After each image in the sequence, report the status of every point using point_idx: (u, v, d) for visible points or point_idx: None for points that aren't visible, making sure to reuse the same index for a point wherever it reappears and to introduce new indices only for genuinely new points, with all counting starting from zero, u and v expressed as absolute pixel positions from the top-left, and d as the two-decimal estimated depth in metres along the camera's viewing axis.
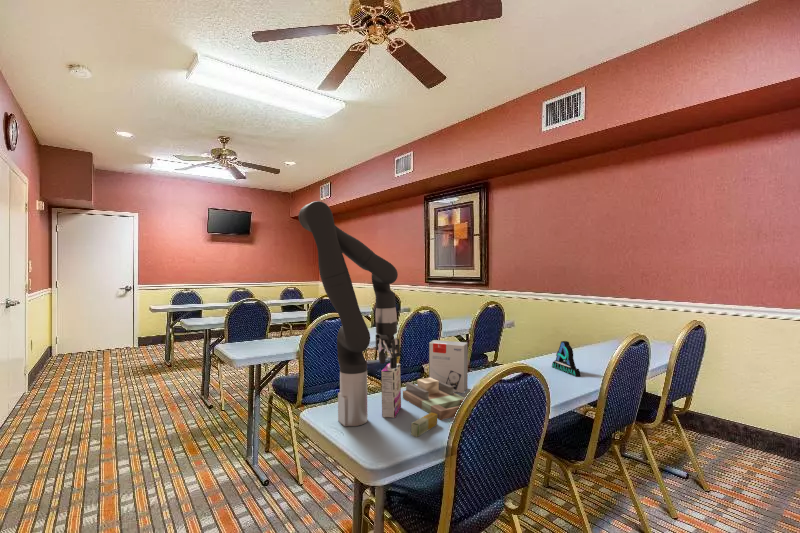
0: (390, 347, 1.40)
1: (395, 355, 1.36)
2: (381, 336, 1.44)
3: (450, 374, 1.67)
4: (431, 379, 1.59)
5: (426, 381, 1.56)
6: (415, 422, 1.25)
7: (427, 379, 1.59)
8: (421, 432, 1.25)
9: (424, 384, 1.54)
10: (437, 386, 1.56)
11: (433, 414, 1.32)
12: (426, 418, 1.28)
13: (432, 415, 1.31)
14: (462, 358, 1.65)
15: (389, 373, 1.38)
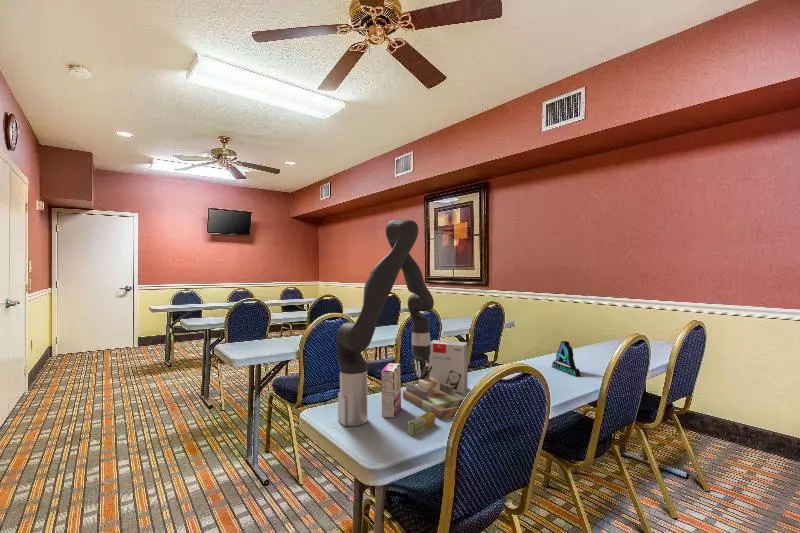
0: None
1: (424, 376, 1.59)
2: (416, 357, 1.63)
3: (450, 374, 1.67)
4: (432, 379, 1.58)
5: (427, 381, 1.56)
6: (412, 421, 1.26)
7: (428, 379, 1.59)
8: (417, 431, 1.25)
9: (425, 384, 1.54)
10: (438, 386, 1.56)
11: (431, 413, 1.32)
12: (423, 417, 1.29)
13: (429, 414, 1.31)
14: (462, 358, 1.65)
15: (389, 373, 1.38)
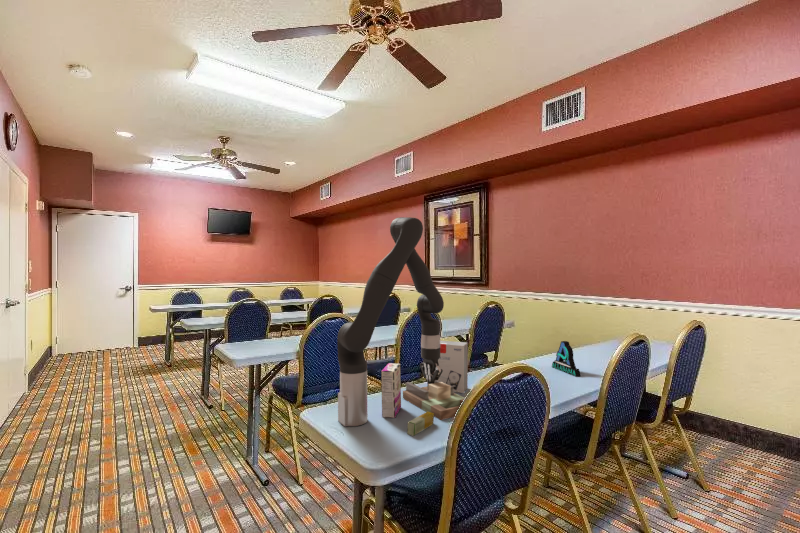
0: None
1: (434, 380, 1.53)
2: (425, 360, 1.57)
3: (450, 374, 1.67)
4: (443, 384, 1.52)
5: (437, 386, 1.50)
6: (411, 421, 1.26)
7: (438, 383, 1.53)
8: (417, 431, 1.26)
9: (435, 389, 1.48)
10: (449, 391, 1.50)
11: (429, 413, 1.33)
12: (422, 417, 1.29)
13: (428, 414, 1.32)
14: (462, 358, 1.65)
15: (389, 373, 1.38)
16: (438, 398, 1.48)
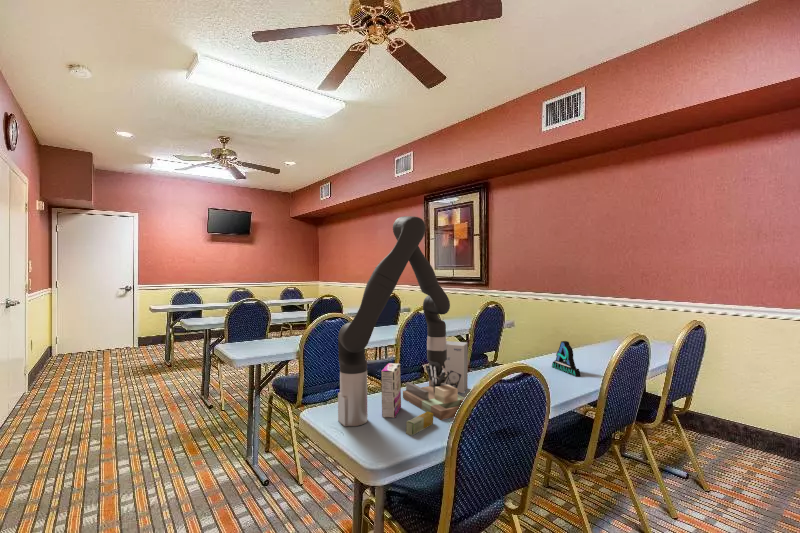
0: None
1: (440, 383, 1.49)
2: (431, 362, 1.54)
3: (450, 374, 1.67)
4: (449, 386, 1.49)
5: (444, 389, 1.46)
6: (410, 421, 1.26)
7: (445, 386, 1.49)
8: (416, 431, 1.26)
9: (442, 392, 1.44)
10: (456, 394, 1.46)
11: (429, 413, 1.33)
12: (421, 417, 1.29)
13: (428, 414, 1.32)
14: (462, 358, 1.65)
15: (389, 373, 1.38)
16: (445, 401, 1.44)
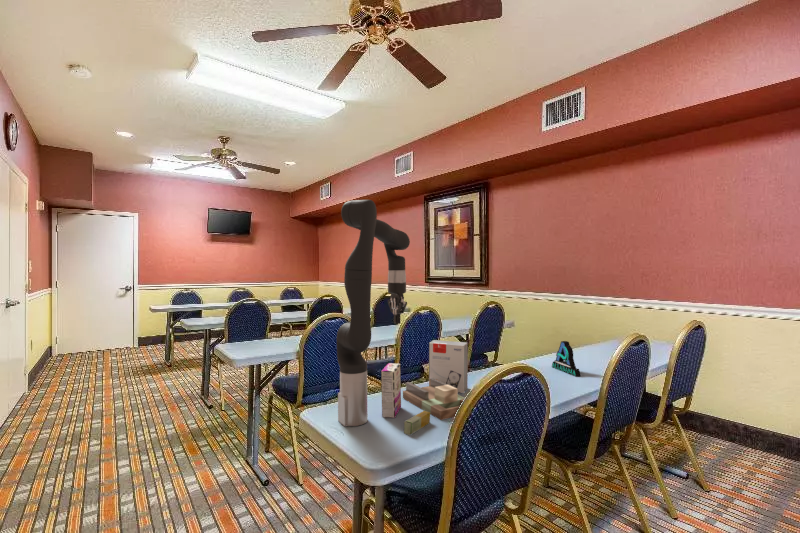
0: None
1: (399, 312, 1.62)
2: (392, 295, 1.66)
3: (450, 374, 1.67)
4: (449, 386, 1.49)
5: (444, 389, 1.46)
6: (408, 420, 1.26)
7: (445, 386, 1.49)
8: (414, 430, 1.26)
9: (442, 392, 1.44)
10: (456, 394, 1.46)
11: (426, 412, 1.33)
12: (419, 416, 1.30)
13: (425, 413, 1.33)
14: (462, 358, 1.65)
15: (389, 373, 1.38)
16: (445, 401, 1.44)
